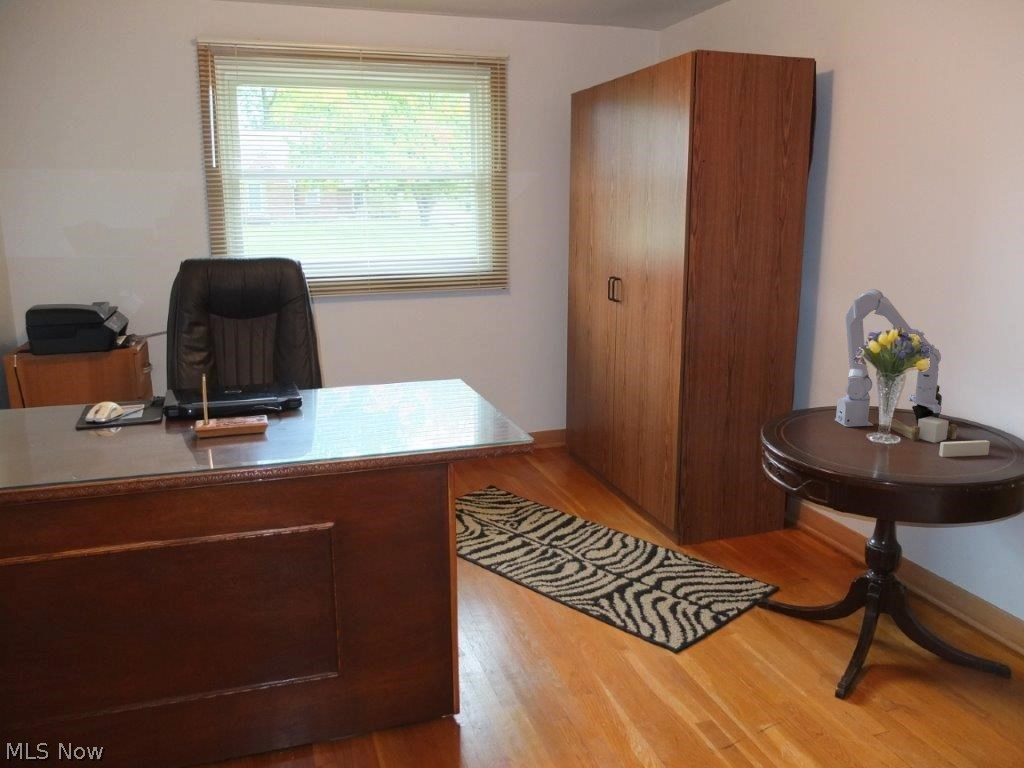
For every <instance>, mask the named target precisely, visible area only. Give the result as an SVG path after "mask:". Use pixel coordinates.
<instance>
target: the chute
mask: <svg viewBox="0 0 1024 768" xmlns="http://www.w3.org/2000/svg"><path fill="white" fill-rule="evenodd" d="M891 419H892V426H891V428H892V430H893V431H895V432H897V433H899V434H900V433H901V434H900V435H902V434H903V435H902V436H904V437H906V438H908V439H909V438H910V439H909V440H911V441H913V442H919V441H920V438H919V433H920V427H919V426H917V425H912V426H910V425H908V424H906V423H905V422H902V421H900V420H898V419H897V418H891ZM891 428H890V429H891ZM957 432H958V425H957V424H956V423H953V424H951V423H950V424H949V425H948V430H947V438H948V439H950V440H957ZM947 438H946V439H947Z"/></svg>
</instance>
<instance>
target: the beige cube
mask: <svg viewBox="0 0 1024 768" xmlns="http://www.w3.org/2000/svg"><path fill="white" fill-rule="evenodd" d="M918 426H919V427H920V433H919V440H920V439H921V440H923V441H928V442H931V443H938V442H939V443H940V442H943V441H946V440H947V430H948V426H949V420H947V419H942V418H940V419H939V418H935V417H931V416H929V417H925V418H922V419H919V420H918Z"/></svg>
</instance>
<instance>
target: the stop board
mask: <svg viewBox="0 0 1024 768" xmlns="http://www.w3.org/2000/svg"><path fill="white" fill-rule="evenodd" d="M939 443H940V445H939V451H938V456H940V457H941V458H948V457H951V458H952V457H968V456H969V457H970V456H988V455H989V452H990V445H991V441H990V440H986V439H984V440H964V441H963V440H961V441H957V440H956V441H940V442H939Z"/></svg>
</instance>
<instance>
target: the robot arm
mask: <svg viewBox="0 0 1024 768" xmlns="http://www.w3.org/2000/svg"><path fill="white" fill-rule="evenodd" d="M873 311H875V312H874V313H873V314H874V315H877V316H881V317H884V318H885V319H886V320H887V321H888V322H889V323H890V324H891V325H892V326H893V327H894V328H895V329H896V328H898V327H902V328H903V330H904V331H905V332H907V333H909V334H916V335H918V336H919V337H920V339H921V341H923V342H924V343H925V344H926V345H927V346H928V348H929V350H930V360H929V361H930V367H929V369H928V370H927V371H925V372H921V371H919V370H918V371H917V375H916V376H917V378H916V385H915V394H909V395H908V402H912V403H914V404H916V405H912V406H911V409H912V410H913V413H914V415H915V421H916V426H918V420H919V419H922V418H925V417H929V416H932V415H933V414H934V413H940V414H941V413H942V405H941V406H939V405H938V404H937V403H938V400H935V398H936V389H937V385H938V380H939V364H940V362H941V361H942V354H941V352H940V350H939V349H938V348H936V347H935V345H934V344H930V342H929V341H928V339H927V338H926V337H925V333H924V332H923V330H921V331H920V330H919V329H918V328H917V329H916V328H915V329H914V328H911V326H910V325H909V324H908V323H907V321H906V320H905V318H904V317H903V316H902V314H900V312H899V311H898V309H896V307H895V306H894V305H893V303H892V302H891V301H890V299H889V298H888V297H887V296H884V294H883V292H882V291H881V290H879V289H875V288H873V289H872V288H871V289H869V290H867V291H866V292H863V293H861V294H859V296H857V297H856V298H855V299H854V300H853V302H852V305H851V306H850V307H849V309H848V311H847V313H846V315H845V326H846V337H847V338H846V339H847V353H848V363H849V371H848V376H847V379H848V381H847V384H846V386H845V392H846V396H844V397H840V398H839V399H838V400H837V403H836V413H835V414H836V415H835V418H834V421H835V422H837V423H839V424H840V425H842V426H843V427H847V428H849V427H850V428H851V427H870V426H871V427H872V426H874V424H873V423H872V422H870V421H869V416H870V415H869V414H870V403H871V395H870V393H869V392H870V391H871V390H872V388H873V381H872V379H871V377H870V375H869V369H868V368H867V364H866V365H863V364H857V363H855V362H854V359H855V357H856V351H857V349H858V348H859V347H861V346H863V345H865V332H864V319H865V318H866V317H867V316H868V315H869V314H870V313H872V312H873Z"/></svg>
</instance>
